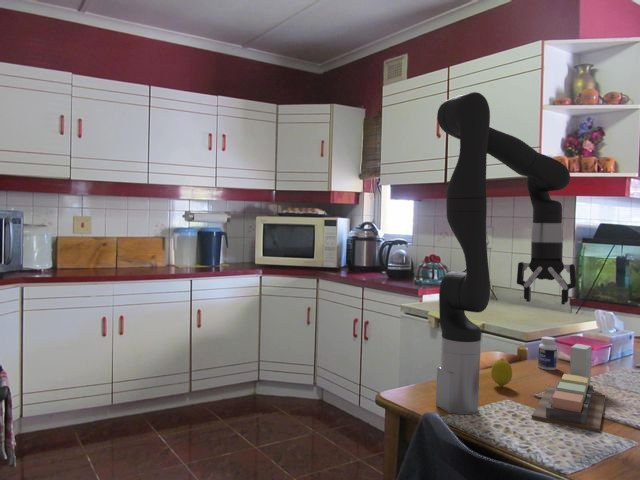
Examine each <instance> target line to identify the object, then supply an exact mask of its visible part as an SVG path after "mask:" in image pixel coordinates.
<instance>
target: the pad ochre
mask: <svg viewBox="0 0 640 480" xmlns="http://www.w3.org/2000/svg"><path fill="white" fill-rule="evenodd" d="M560 379H561V382H565V383H572V384H578V385H584V386H586V392H587V391H588V380H589V377H583V376H576V375H570V373H563V375H562V376H561V378H560Z"/></svg>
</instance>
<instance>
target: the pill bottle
mask: <svg viewBox="0 0 640 480" xmlns="http://www.w3.org/2000/svg"><path fill="white" fill-rule="evenodd" d="M540 341H541V343H539V345H538V355H537V356H538V360H537V361H538V362H537V367H538V368H539V369H541V370H546V371H556V369H557V359H558V357H557V355H558V346H557V345H556V338H555V337H553V336H552V337H551V336H542V337H541V340H540Z"/></svg>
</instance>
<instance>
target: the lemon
mask: <svg viewBox="0 0 640 480" xmlns="http://www.w3.org/2000/svg"><path fill="white" fill-rule="evenodd" d="M512 369H513V368H512V366H511V364H510V362H508V361H507V360H506V359H504V357H503V358H499V359H497V360H495V361H494V362H493V363H492V367H491V371H490V375H491V378H492V381H493V382H494V383H495V384H497V385H498V386H499V387H500V388H501V387H502V388H503V387H504V386H506V385H508V384H509V383H510V382H511V380H512V379H513V378H512V377H513V370H512Z"/></svg>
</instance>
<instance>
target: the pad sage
mask: <svg viewBox="0 0 640 480" xmlns="http://www.w3.org/2000/svg"><path fill="white" fill-rule="evenodd" d="M558 383H559V382H558ZM557 385H558V384H557ZM556 387H557V386H556ZM557 391H561V392H567V393H573V394H578V395H583V402H584V401H585V398H586V386H584V385H578V384H572V383H565V382H560V383H559V385H558V387H557Z"/></svg>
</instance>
